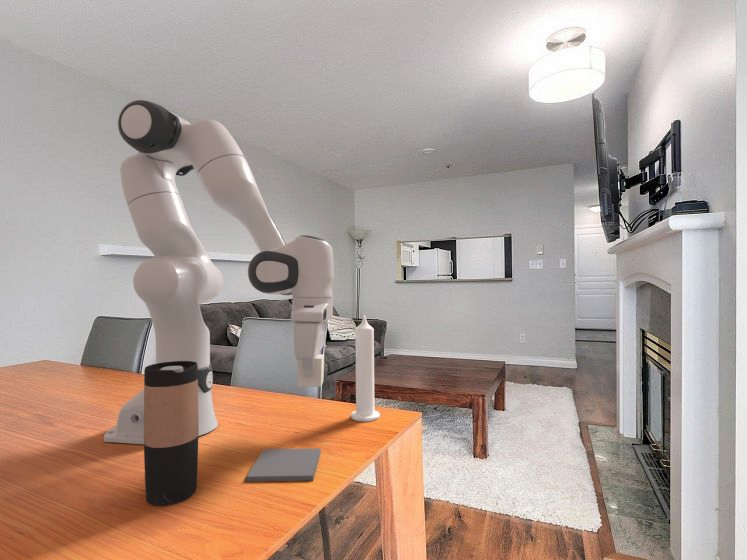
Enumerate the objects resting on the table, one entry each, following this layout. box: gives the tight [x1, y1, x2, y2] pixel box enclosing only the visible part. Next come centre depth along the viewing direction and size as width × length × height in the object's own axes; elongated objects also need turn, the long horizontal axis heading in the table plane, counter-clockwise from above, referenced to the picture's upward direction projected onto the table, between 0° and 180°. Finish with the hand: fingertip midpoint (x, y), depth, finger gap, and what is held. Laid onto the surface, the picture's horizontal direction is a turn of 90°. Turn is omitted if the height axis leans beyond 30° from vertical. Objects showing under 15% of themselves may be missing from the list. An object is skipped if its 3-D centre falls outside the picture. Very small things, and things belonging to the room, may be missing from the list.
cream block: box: [296, 353, 325, 388], centre depth 87 cm, size 5×5×6 cm
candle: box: [350, 314, 381, 422], centre depth 98 cm, size 7×7×25 cm
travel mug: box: [143, 361, 199, 507], centre depth 62 cm, size 8×8×20 cm
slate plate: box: [245, 447, 322, 482], centre depth 71 cm, size 11×11×1 cm
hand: (311, 373), depth 87 cm, fingers closed on cream block, 5 cm apart
